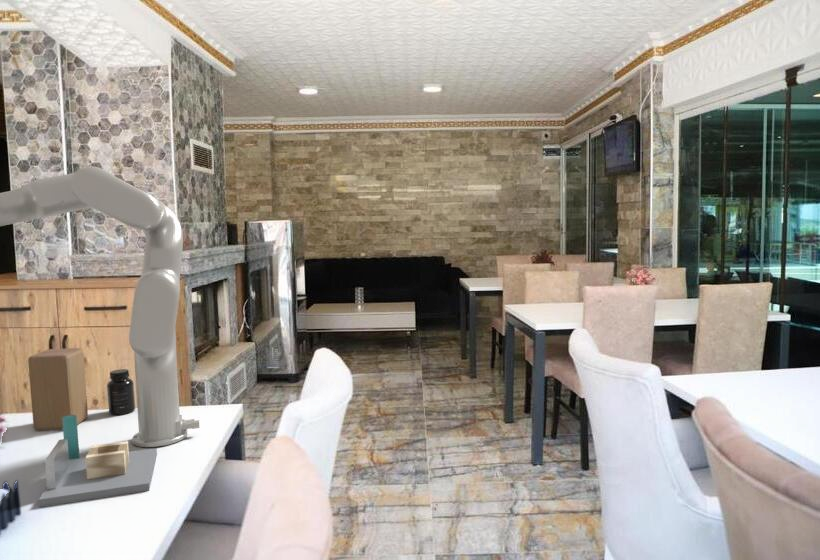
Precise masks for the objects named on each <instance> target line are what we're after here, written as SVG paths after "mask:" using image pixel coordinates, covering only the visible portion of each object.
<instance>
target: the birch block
mask: <svg viewBox="0 0 820 560" xmlns="http://www.w3.org/2000/svg"><path fill="white" fill-rule="evenodd" d="M129 452H130V451H129V441H128V440H126V441H120V442H113V443H105V444H96V445H91V447H90V449H88V453H87V454H86V457H85V458H86V471H87V479H93V478H100V477H107V476H114V475H121V474H125V473H126V470H127V467H128V464H129Z"/></svg>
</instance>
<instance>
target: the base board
mask: <svg viewBox="0 0 820 560" xmlns="http://www.w3.org/2000/svg"><path fill="white" fill-rule="evenodd" d="M157 449H158V448H157V447H156V448H155V447H153V448H149V449H148V448H147V449H141V450H133V451H132V450H131V451H129V464H128V467H127V470H126V473H125V474H121V475H114V476H107V477H100V478H93V479H87V471H86V457H80V458H78V459H70V460H69V467H68V469H67V471H66V473H65V474H64V476H63V478H62V480H61V481H60V483H59V485H58V486H57V488H56V489H52V490H47V486H46V487H45V489H44V490H43V492H42V493H41V496H40V497H39V498H38V507H39V508H43V507H44V508H45V507H50V506H56V505H61V504H69V503H76V502H82V501H87V500H96V499H103V498H109V497H115V496H121V495H129V494H135V493H141V492H142V493H143V492H147V491H148V492H149V491H150V488H151V485H152V479H153V476H154V470H155V466H156V461H157V456H158V450H157Z"/></svg>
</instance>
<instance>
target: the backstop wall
mask: <svg viewBox="0 0 820 560" xmlns="http://www.w3.org/2000/svg"><path fill="white" fill-rule="evenodd" d="M44 467H45V479H46V487H47V490H52V489H56V488H57V486H58V485H59V483H60V481H61V480H62V478H63V476H64V474H65V473H66V471H67V469H68V467H69V454H68V441H67V439H64V438H63V439H59V440H58V441H57V442H56V444H55V446H54V447H53V448H52V449H51V451H50V452H49V453H48V455H47V457H46V458H45V460H44Z"/></svg>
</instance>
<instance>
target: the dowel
mask: <svg viewBox="0 0 820 560" xmlns="http://www.w3.org/2000/svg"><path fill="white" fill-rule="evenodd" d="M62 422H63V430H62V433H63V439H67V441H68V454H69V460H70V459H78V458H81V457H80V447H79V445H80V444H79V431H78V425H77V416H76V415H68V416H64V417H63V418H62Z"/></svg>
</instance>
